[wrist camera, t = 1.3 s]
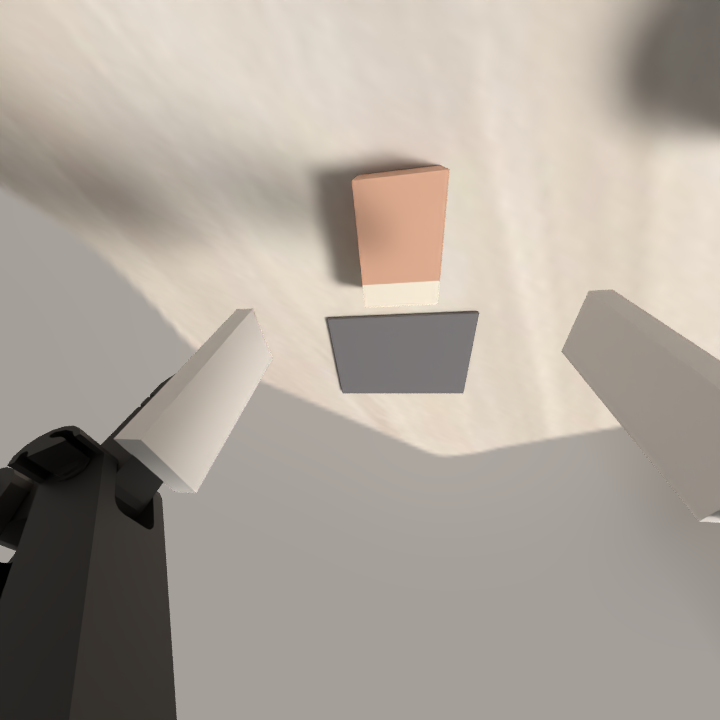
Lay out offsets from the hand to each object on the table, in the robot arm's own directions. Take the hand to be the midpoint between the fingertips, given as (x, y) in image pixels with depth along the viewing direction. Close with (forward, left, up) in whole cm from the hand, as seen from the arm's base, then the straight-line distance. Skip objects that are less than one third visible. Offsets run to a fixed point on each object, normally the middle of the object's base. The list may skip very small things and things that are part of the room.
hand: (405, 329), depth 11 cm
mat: (+13, 0, -14) cm, 19 cm away
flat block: (0, 0, -15) cm, 15 cm away
